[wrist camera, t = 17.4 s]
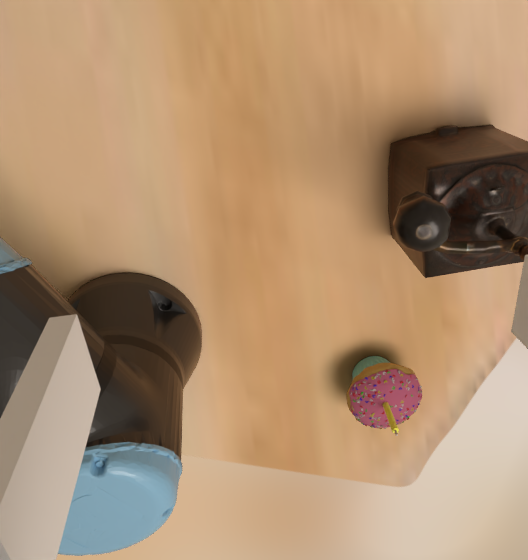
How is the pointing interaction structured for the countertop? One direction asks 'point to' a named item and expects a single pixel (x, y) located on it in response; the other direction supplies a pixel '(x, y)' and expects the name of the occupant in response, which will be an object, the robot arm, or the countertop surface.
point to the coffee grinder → (459, 199)
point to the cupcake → (383, 393)
